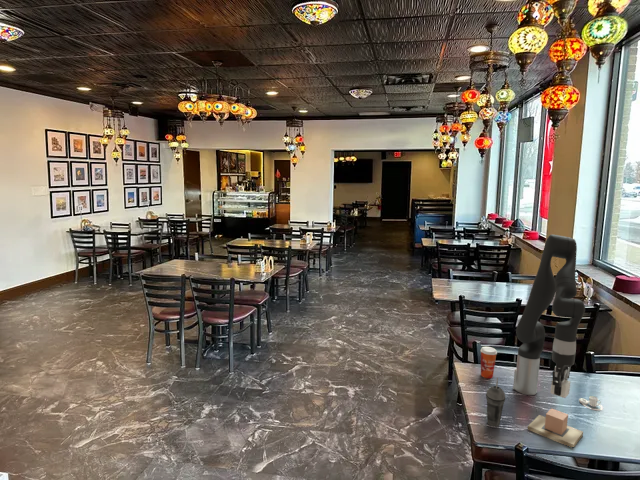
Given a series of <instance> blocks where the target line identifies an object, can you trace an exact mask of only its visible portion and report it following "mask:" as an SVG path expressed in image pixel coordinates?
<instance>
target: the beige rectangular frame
mask: <svg viewBox="0 0 640 480" xmlns="http://www.w3.org/2000/svg"><path fill="white" fill-rule="evenodd" d="M545 419H546V416H544V415H541V414H538V416H536V417H535V418H534V419H533V420H532V421H531V422H530V423H529V424H528V425H527V430H529V431H530V432H532V433H535V434H537V435H540V436H542V437H544V438H546V439H550V440H551V441H554V442H557V443H560V445H561V444H562V445H563V444H564V446H566V445H567V446H566V447H568V446H570V447H569V448H571V447H576V445H577V444H578V443H579V441H580V440H581V438H582V437H583V435H584V431H583V430H580V429H577V428H574V427H572V426H569V425H567V429H566V430H565V431H564V433H563V434H562V435H560V434H558V433H555V432H553V431H550V430H548V429H545Z"/></svg>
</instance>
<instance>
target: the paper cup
mask: <svg viewBox="0 0 640 480" xmlns="http://www.w3.org/2000/svg"><path fill="white" fill-rule="evenodd" d="M479 351H480V376H481V377H482V378H484V379H493V377H494V371H495V365H496V358H497V354H498V352H497V349H495V348H494V347H491V346H482V347H481V349H480V350H479Z"/></svg>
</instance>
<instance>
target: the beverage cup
mask: <svg viewBox="0 0 640 480" xmlns="http://www.w3.org/2000/svg"><path fill="white" fill-rule="evenodd" d="M495 381H496V382H495V385H493V386H490V387H489V388H488V389H487V390H486V393H485V398H486V420H487V424H488V425H489V426H490V427H495V428H496V427H499V426H500V423H501V419H502V413H503V409H504V404H505V401H506V399H507V398H506V393H505V391H504V389H503V388H501V387H500V386H498V385H499V383H498V382H499V377H496V380H495Z"/></svg>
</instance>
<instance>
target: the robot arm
mask: <svg viewBox="0 0 640 480" xmlns="http://www.w3.org/2000/svg"><path fill="white" fill-rule="evenodd" d="M577 251H578V246H577V242H576V239H575V238H572V237H569V236H564V235H559V234H549V235H548V237H547V238H546V240H545V244H544V246H543V250H542V255H541V259H540V263H539V267H538V270H537V273H536V275H535V278H534V280H533V283H532V287H531V290H530V293H529V296H528V299H527V302H526V305H525V307H524V310H523V312H522V315H521V317H520V319H519V321H518V323H517V326H516V330H515V334H516V337H517V339H518V340H519V341H520V342H521V343H522V344H521V345H519V347H518V349H517V359H516V368H515V369H514V375H513V385H512V389H513V390H515V391H516V392H518V393H520V394H523V395H526V396H534V395H536V394H537V391H538V382H539V381H538V380H539V372H540V361H541V355H542V353H543V351H544V345H545V338H546V330H545V327H544V324H542V323H541V322H540V321H539V319H540V317H541V316H542V315H543V314H544V312H545V311H546V310H547V309H548V308H549V306H551V304H552V307H551V310H552V313H553V314H554V316H556V317H560V318H567V319H568V318H569V320H567V321H559V322H557V323H555V331H554V338H553V343H552V352H551V361H553V363H555V364H556V365H555V366H554V370H553V371H552V380H551V383H552V385H555V387H554V394H555V396H557V395H558V396H557V397H560V395H561V388H562V382H563V381H564V380H567V381H569V380H568V379H569V378H570V374H571V373H570V372H571V367H572V366H573V365H574V364H575V360H576V353H577V352H576V350H577V334H578V328H579V327H580V326H579V325H580V323H581V320H582V319H583V317H584V314H585V312H586V305H585V302H584V301H582V300H581V299H577V298H576V299H574V298H575V297H577V294H578V289H577V281H576V266H577ZM553 257H554V258H557V259H558V258H559V259H563V260H565V263H564V264H563V265H562V267H561V268H560V269H559V270H558V271H557V273H556V274H555V276H554V274H553V271H552V258H553ZM552 301H553V302H552ZM557 381H558V383H557ZM554 394H553V395H554Z"/></svg>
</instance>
